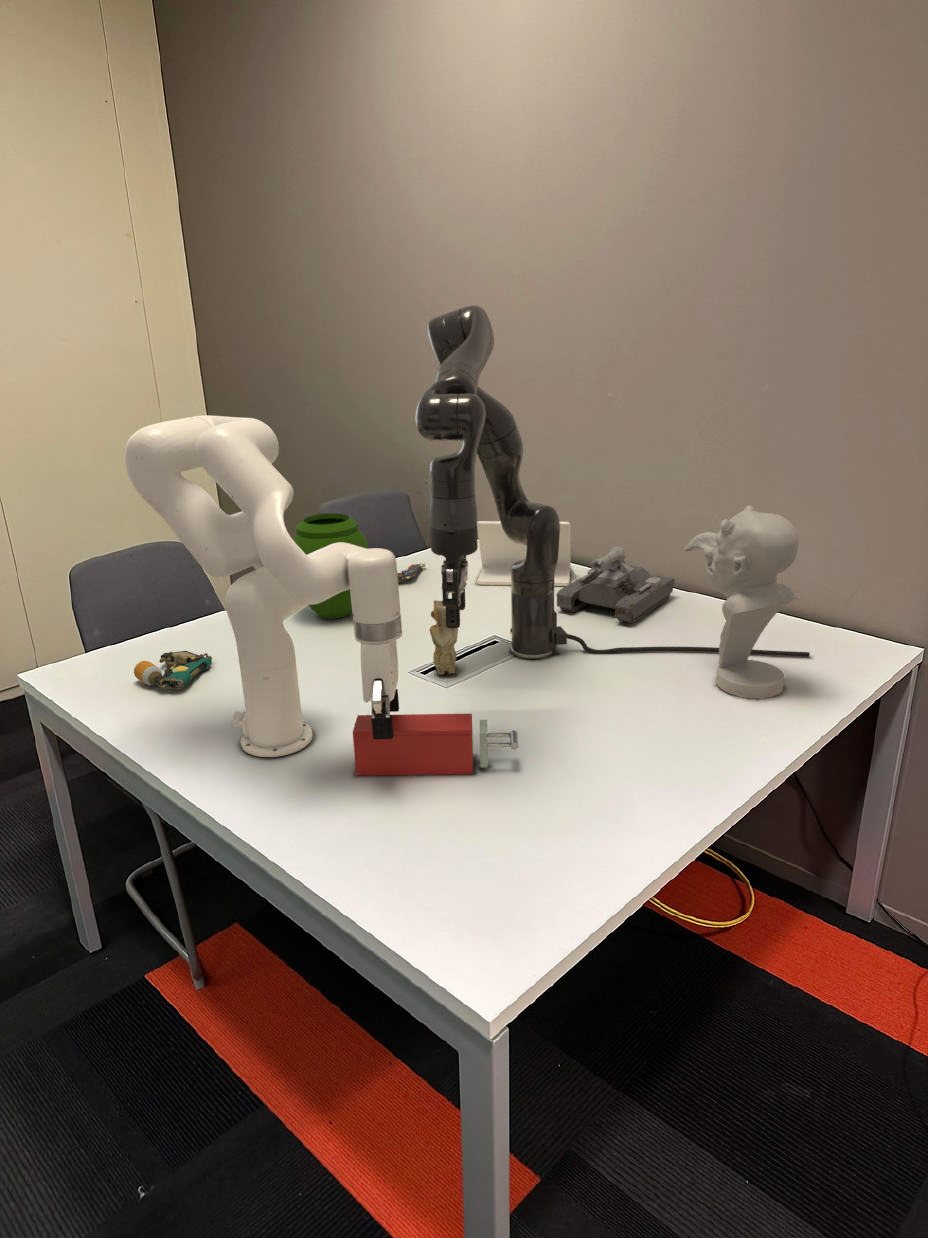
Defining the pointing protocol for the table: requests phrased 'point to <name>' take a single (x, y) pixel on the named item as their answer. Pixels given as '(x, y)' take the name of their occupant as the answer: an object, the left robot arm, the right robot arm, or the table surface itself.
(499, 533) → the tablet stand
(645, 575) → the toy
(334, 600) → the vase
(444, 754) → the cabinet
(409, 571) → the toy gun
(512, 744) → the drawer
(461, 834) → the table surface
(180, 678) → the green toy blaster
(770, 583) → the bust sculpture
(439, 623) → the sculpture
